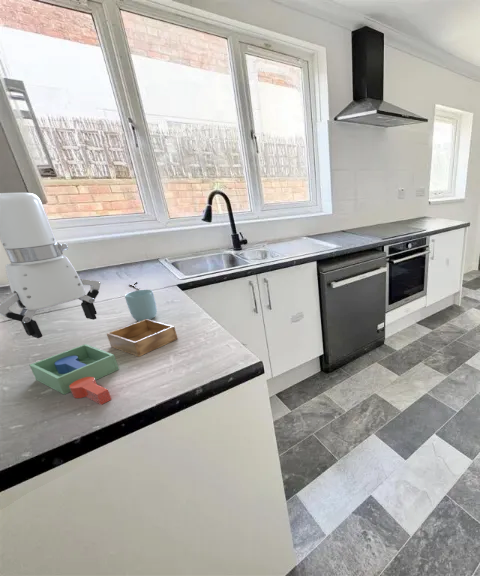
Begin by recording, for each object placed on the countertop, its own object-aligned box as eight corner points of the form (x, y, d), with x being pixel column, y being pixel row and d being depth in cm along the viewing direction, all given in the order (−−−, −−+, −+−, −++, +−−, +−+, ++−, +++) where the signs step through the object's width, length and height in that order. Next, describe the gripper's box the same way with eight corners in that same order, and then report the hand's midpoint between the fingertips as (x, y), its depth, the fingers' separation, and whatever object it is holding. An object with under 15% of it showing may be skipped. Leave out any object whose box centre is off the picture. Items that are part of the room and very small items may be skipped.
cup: (163, 313, 116) (156, 288, 113) (152, 322, 109) (144, 296, 106) (140, 315, 115) (132, 290, 112) (128, 324, 108) (119, 297, 104)
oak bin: (138, 356, 87) (134, 342, 86) (111, 346, 93) (106, 333, 91) (177, 339, 97) (174, 326, 95) (150, 331, 103) (146, 318, 101)
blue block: (98, 372, 80) (94, 362, 79) (76, 381, 76) (72, 372, 75) (76, 362, 84) (72, 354, 83) (54, 371, 80) (50, 362, 79)
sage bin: (64, 394, 72) (57, 378, 71) (36, 380, 78) (29, 364, 76) (119, 369, 82) (114, 354, 80) (90, 357, 87) (85, 343, 86)
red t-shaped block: (117, 396, 71) (114, 386, 70) (94, 408, 67) (90, 398, 66) (92, 384, 76) (88, 374, 75) (69, 395, 72) (65, 385, 71)
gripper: (77, 244, 74) (101, 310, 79) (-37, 263, 59) (3, 342, 64) (94, 246, 71) (118, 314, 76) (-20, 266, 56) (20, 348, 62)
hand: (66, 327), depth 70 cm, fingers open, 9 cm apart
